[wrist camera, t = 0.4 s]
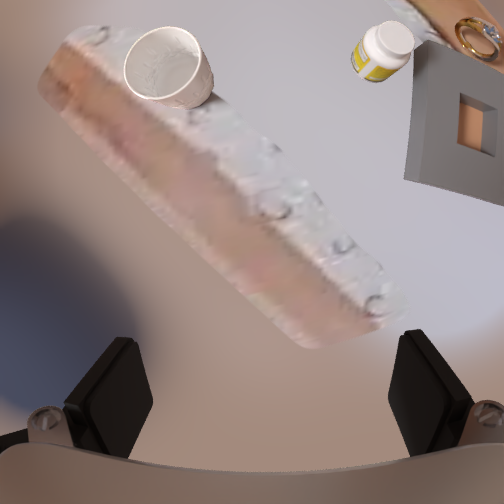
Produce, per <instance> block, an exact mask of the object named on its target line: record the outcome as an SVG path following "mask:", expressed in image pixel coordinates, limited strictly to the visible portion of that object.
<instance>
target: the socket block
mask: <svg viewBox="0 0 504 504" xmlns="http://www.w3.org/2000/svg"><path fill="white" fill-rule="evenodd" d="M413 71H414V72H413V93H412V108H411V121H410V131H409V142H408V150H407V158H406V166H405V173H404V179H405V180H409V181H413V182H417V183H422V184H426V185H430V186H434V187H438V188H441V189H445V190H449V191H452V192H456V193H460V194H463V195H467V196H471V197H474V198H477V199H480V200H484V201H487V202H490V203H493V204H497V205H501V206H504V74H502V73H500V72H498V71H496V70H494V69H493V68H491V67H489V66H487V65H485V64H483V63H481V62H479V61H477V60H475V59H472V58H470V57H468V56H466V55H464V54H462V53H459V52H457V51H455V50H452V49H450V48H448V47H445V46H443V45H440V44H438V43H435V42H433V41H430V40H427V41H425V42H424V43H423V44H421V45H420V46H419V47H417V48H416V49H415V50H414V70H413Z"/></svg>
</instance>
